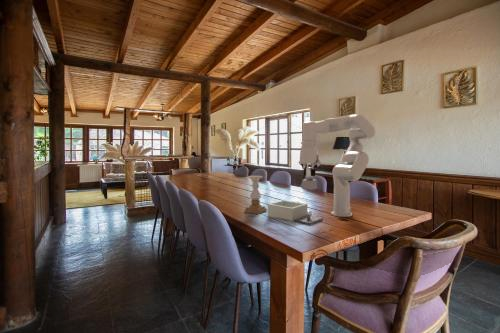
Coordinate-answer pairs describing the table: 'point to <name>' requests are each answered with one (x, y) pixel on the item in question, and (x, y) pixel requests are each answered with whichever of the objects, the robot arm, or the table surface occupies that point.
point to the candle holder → (255, 197)
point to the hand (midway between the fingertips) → (309, 175)
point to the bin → (287, 210)
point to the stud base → (308, 219)
